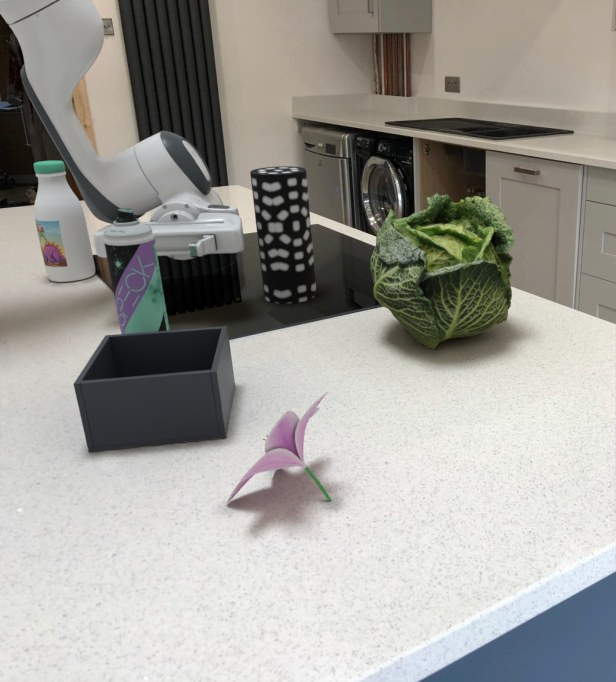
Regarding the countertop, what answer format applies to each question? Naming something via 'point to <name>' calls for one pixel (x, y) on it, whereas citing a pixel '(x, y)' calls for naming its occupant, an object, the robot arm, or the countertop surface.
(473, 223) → the vegetable
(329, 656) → the countertop surface
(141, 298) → the spray can
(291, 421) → the lily
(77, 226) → the milk bottle
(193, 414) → the bin
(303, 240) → the spotted tube
